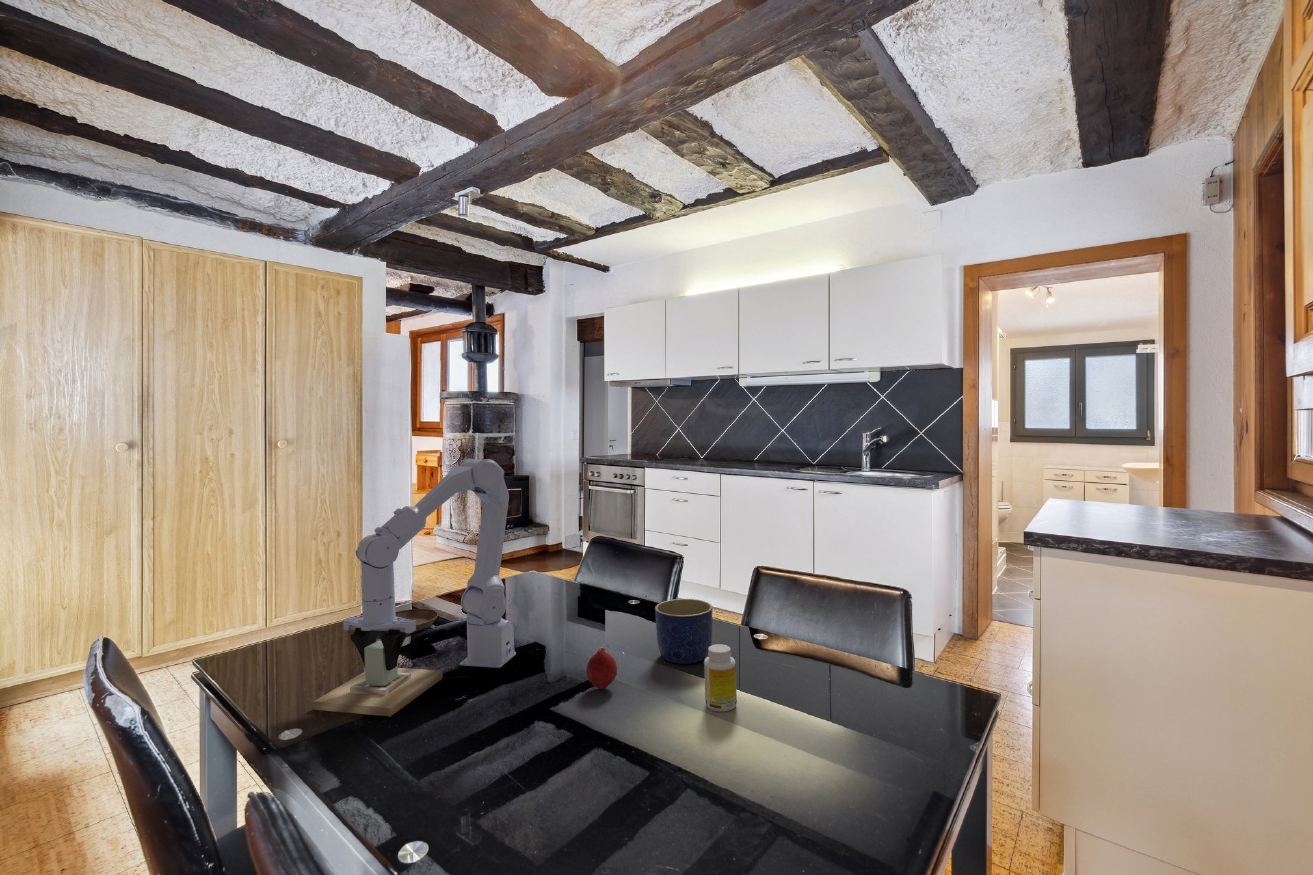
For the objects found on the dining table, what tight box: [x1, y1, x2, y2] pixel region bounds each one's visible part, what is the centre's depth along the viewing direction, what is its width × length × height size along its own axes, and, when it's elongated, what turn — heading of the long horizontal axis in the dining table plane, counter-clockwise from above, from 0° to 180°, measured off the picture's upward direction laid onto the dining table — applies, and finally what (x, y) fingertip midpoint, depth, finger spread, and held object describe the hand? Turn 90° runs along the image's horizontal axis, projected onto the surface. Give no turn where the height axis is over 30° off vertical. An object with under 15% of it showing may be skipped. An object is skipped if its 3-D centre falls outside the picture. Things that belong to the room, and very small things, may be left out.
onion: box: [586, 646, 618, 691], centre depth 110 cm, size 6×6×8 cm
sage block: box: [364, 640, 399, 686], centre depth 111 cm, size 4×4×7 cm
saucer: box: [384, 608, 439, 634], centre depth 151 cm, size 15×15×3 cm
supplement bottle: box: [703, 643, 738, 713], centre depth 102 cm, size 6×6×10 cm
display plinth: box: [312, 667, 444, 717], centre depth 111 cm, size 16×16×2 cm
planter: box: [654, 598, 713, 665], centre depth 125 cm, size 12×12×11 cm
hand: (380, 667), depth 111 cm, fingers open, 4 cm apart
